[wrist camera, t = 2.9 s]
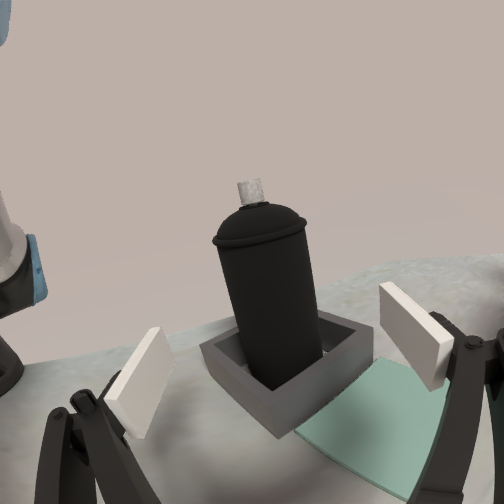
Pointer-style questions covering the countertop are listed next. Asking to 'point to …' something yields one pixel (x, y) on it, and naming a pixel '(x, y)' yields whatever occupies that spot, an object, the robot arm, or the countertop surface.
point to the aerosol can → (270, 286)
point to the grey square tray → (301, 386)
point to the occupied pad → (380, 426)
